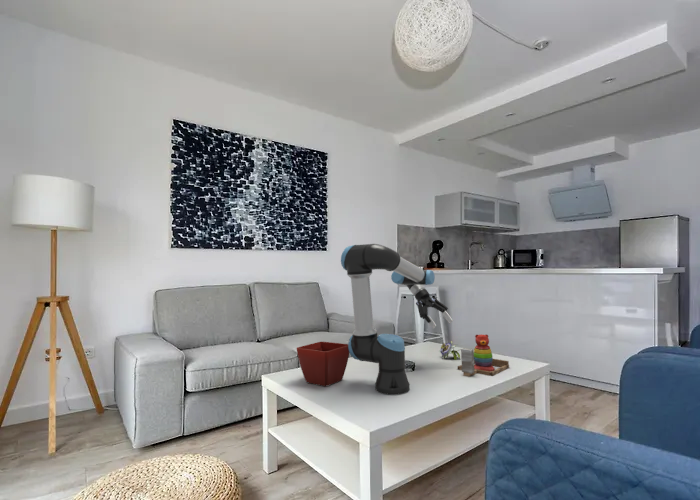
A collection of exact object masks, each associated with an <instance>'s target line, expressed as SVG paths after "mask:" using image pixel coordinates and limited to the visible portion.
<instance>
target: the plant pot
mask: <svg viewBox="0 0 700 500" xmlns="http://www.w3.org/2000/svg"><path fill="white" fill-rule="evenodd" d="M296 353H297V358H298V362H299V366H300V369H301V372H302V375H303V377H304V378H303V379H304V380H305V381H306V383H307V382H309V383H308V384H312V383H313V384H312V385H316V384H317V385H318V386H321V385H322V387H328V386H331V385H333V384H336V383H338V382H340V381H341V382H342V381H343V378H344V375H345V372H346V369H347V366H348V361H349V356H350V353H349V349H348V343H339V342H332V341H331V342H330V341H318V342H313V343H309V344H306V345H301V346H298V347H296Z"/></svg>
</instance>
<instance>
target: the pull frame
mask: <svg viewBox="0 0 700 500" xmlns="http://www.w3.org/2000/svg"><path fill="white" fill-rule="evenodd" d="M460 349H461V350H460V351H461V352H460V354H461V355H460V358H461V359H460V360H461V365H458V366H457V368H456V370H459V371H461V373H462V374H463V375H462V376H463V377H472V376H475V375H476V374H481V375H485V376H490V377H493V376H495V375H497V374H499V373H502V372H504V371H506V370H508V369H509V368H510V364H509V360H505V359H504V360H503V359H499V358H493V359H492V366H493V367H496V369H495V370H494V371H492V372H489V371H484V370H478V369H474V365H475V361H474V349H472V348H465V347H463V348H460ZM497 367H498V368H497Z"/></svg>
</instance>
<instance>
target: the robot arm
mask: <svg viewBox="0 0 700 500" xmlns="http://www.w3.org/2000/svg"><path fill="white" fill-rule="evenodd" d="M340 264H341V267H342V269H343V270H345V271H346V275H347V276H348V277H349V278H350V281H351V282H350V286H351V294H352V307H353V317H354V330H353V331H352V333H351V336H350V337H349V340H348V342H347V344H348V349H349V356H351V357H352V359H354V360H357V361H360V362H368V363H375V364H378V373H377V377H376V380H375V384H374V387H375V389H374V390H375V391H376V392H377V393H379V394H384V395H395V396H396V395H402V394H406V393H408V392H410V390H411V387H410V381H409V379H408V376H407V373H406V353H405V352H406V348H405V340H404V339H403V338H402V337H401V336H399V335H397V334H393V333H380V334H379V335H378V330H377V329H376V328H375V327H374V317H373V306H372V305H373V304H372V294H371V293H372V292H371V282H370V277H371V276H372V274H373V270H385V271H388V272H392V273H391V275H390V276H391V277H390V280H391V281H392V282H393V283H394V284H396V285H403V286H406V287H407V288H408V290H409V291H410V292H411V293H412V296H414V299H415V300H416V302H415V304H416V307H417V309H418V313H419V314H418V315H419V317H420V318H421V319H423V320H425V321H426V322H427V324H429V326H430V327H431V328H432V330H433V329H435V328H436V327H437V324H436V322H435V321H434V320H433V318H432V317H431V315H429V314H428V309H429V308H434V309H435V310H437V311H439V312H441V313H442V316H443V318H444V319H445V320H446V321H447V322H448V324H452V323H453V321H454V320H453V319H452V317H451V315H450V314H449V312H448V311H447V310H448V309H449V308H448V307H447V306H446V305H444V304H443V303H442V302H441V301H439V300H438V299H437V298H436V297H435V296H433V297H431V296H430V293H429V291H428V290H427V289H426V285H429V286H430V285H433V284H434V282H435V272H434V271H433V270H431V269H423V268H421V267H419V266H418V265H416V264H414V263H412V262H410V261H408V260H407V259H405V258H404V257H401V256H400V254H399V253H398V252H397V251H396V250H394V249H392V248H390V247H388V246H385V245H382V244H378V243H368V244H354V245H347V247H345V248H344V249H343V251H342V254H341V256H340ZM424 285H425V286H424Z"/></svg>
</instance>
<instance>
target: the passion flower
mask: <svg viewBox="0 0 700 500" xmlns="http://www.w3.org/2000/svg"><path fill="white" fill-rule="evenodd" d="M455 347H456V344H453V340H451V341H450V342H447V343H442V344H441V346H440V350H438V352H439V353H440V354H441V357H442V360H445V359H447V358H448V357H449V355H451V354H452V356H453V359H454V361H457V359H460V358H461V355H460V354H461V353H460V352H458V351H461V349H462V348H460V349H458V350H455Z"/></svg>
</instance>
